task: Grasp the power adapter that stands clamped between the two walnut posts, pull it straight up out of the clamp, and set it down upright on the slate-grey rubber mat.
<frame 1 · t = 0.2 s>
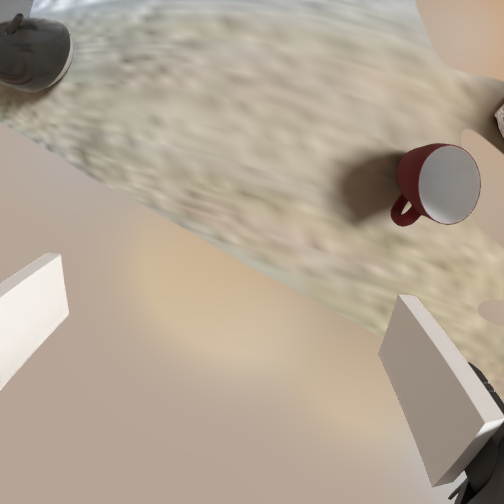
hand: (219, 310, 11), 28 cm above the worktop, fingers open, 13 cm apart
pump dispenser: (56, 59, 32), on the worktop
mug: (405, 181, 37), on the worktop
mat: (8, 24, 29), on the worktop
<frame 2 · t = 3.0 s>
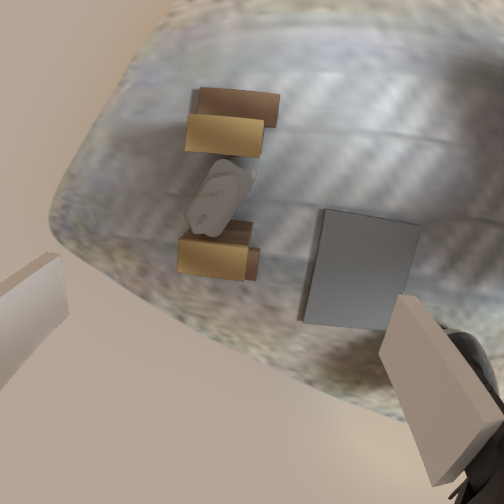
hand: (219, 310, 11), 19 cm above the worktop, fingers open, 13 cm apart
power adapter: (229, 184, 29), on the worktop
pump dispenser: (433, 349, 35), on the worktop
clamp: (229, 185, 29), on the worktop
mat: (361, 274, 31), on the worktop
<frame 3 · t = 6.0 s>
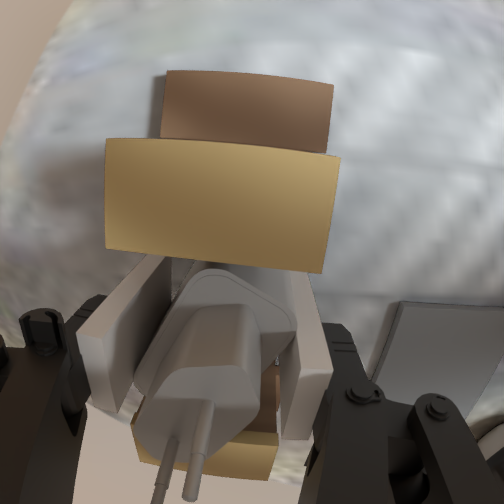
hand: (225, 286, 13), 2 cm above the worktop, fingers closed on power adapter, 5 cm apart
power adapter: (231, 264, 16), on the worktop, touching gripper
pump dispenser: (493, 437, 21), on the worktop
clamp: (231, 265, 15), on the worktop
mat: (434, 383, 18), on the worktop
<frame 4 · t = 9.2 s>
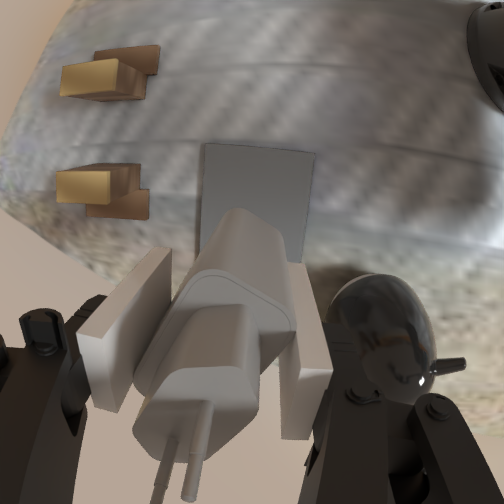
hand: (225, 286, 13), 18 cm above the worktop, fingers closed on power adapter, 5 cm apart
power adapter: (230, 264, 16), point 16 cm above the worktop, touching gripper
pump dispenser: (364, 302, 34), on the worktop
clamp: (119, 131, 29), on the worktop
mat: (254, 209, 31), on the worktop
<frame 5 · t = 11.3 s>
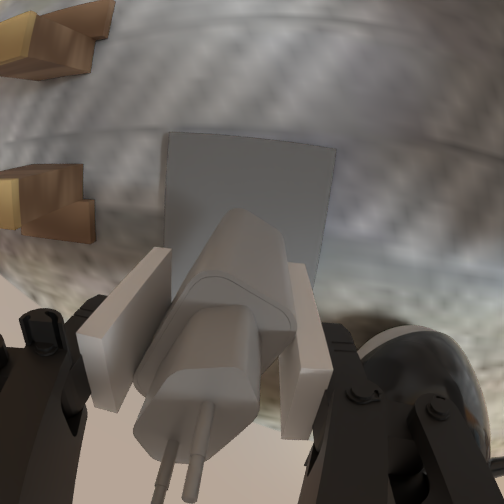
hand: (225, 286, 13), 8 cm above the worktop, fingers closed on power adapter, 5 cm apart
power adapter: (231, 264, 16), point 5 cm above the worktop, touching gripper
pump dispenser: (390, 356, 24), on the worktop
clamp: (58, 119, 18), on the worktop
mat: (242, 232, 21), on the worktop
when the fingers open (4 cm above the worktop, at t = 12.7 s): power adapter drops 1 cm, resting on mat.
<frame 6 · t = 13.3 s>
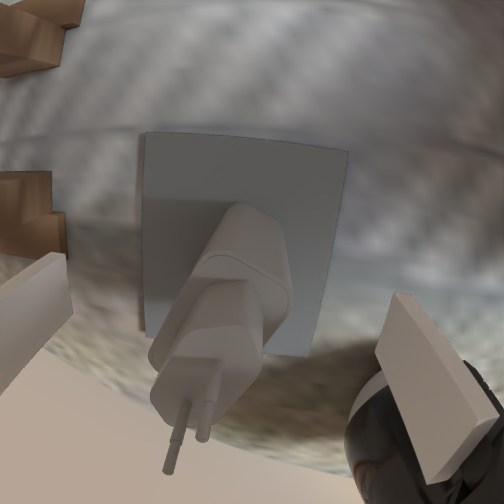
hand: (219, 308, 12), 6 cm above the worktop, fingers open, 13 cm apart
power adapter: (235, 254, 17), resting on mat
pump dispenser: (402, 385, 21), on the worktop
clamp: (25, 120, 15), on the worktop
mat: (234, 251, 17), on the worktop
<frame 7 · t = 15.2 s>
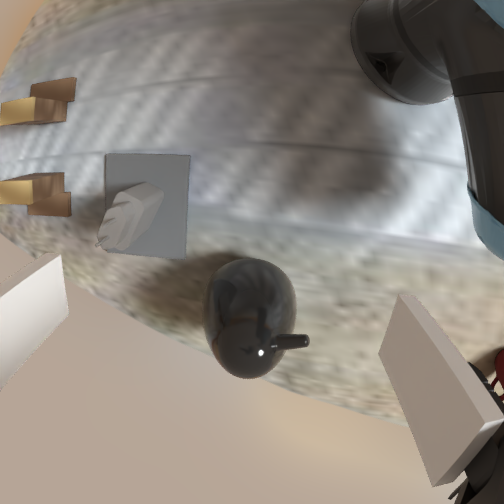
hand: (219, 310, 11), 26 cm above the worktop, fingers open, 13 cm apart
power adapter: (145, 206, 36), resting on mat
pump dispenser: (250, 286, 39), on the worktop
clamp: (49, 147, 33), on the worktop
mug: (497, 361, 45), on the worktop
mat: (145, 205, 36), on the worktop
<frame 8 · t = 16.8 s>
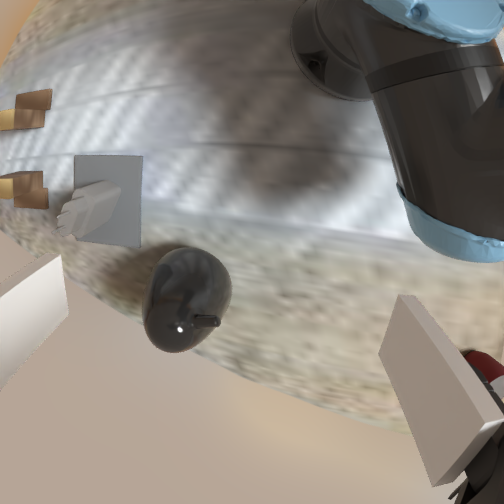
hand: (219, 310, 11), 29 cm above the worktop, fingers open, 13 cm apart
power adapter: (106, 200, 39), resting on mat
pump dispenser: (197, 274, 43), on the worktop
clamp: (31, 149, 37), on the worktop
mug: (465, 363, 47), on the worktop
mat: (107, 200, 40), on the worktop
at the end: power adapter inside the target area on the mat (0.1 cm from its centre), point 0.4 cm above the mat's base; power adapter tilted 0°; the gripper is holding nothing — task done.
